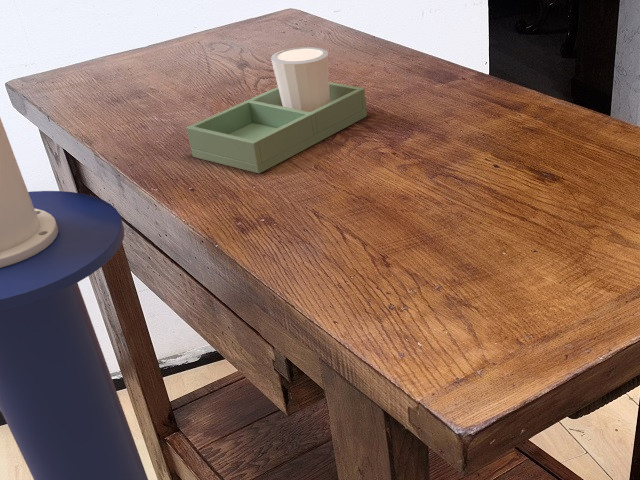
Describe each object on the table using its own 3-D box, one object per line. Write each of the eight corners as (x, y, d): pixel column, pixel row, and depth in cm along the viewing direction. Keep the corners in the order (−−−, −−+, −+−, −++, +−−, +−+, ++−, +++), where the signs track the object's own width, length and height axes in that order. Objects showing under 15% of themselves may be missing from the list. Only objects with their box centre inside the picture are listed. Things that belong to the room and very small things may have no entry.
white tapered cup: (330, 122, 100) (323, 62, 96) (274, 123, 101) (264, 63, 96) (339, 103, 106) (332, 45, 101) (286, 104, 106) (277, 46, 102)
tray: (259, 174, 92) (253, 143, 90) (192, 157, 97) (185, 127, 95) (367, 116, 105) (364, 88, 103) (304, 103, 110) (300, 76, 107)
